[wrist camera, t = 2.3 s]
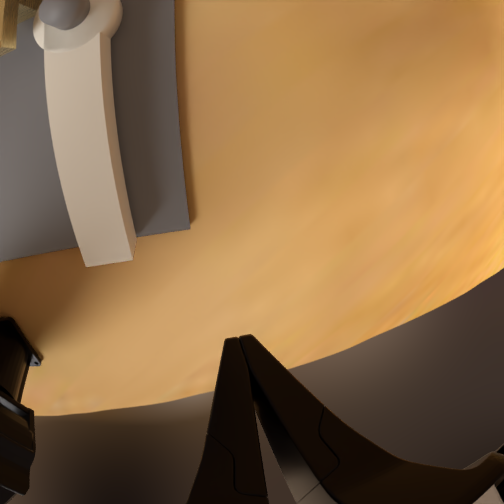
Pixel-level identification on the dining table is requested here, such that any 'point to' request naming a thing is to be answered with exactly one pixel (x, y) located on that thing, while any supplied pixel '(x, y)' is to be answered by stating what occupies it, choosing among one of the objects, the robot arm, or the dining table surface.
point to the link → (86, 123)
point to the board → (128, 128)
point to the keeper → (14, 20)
